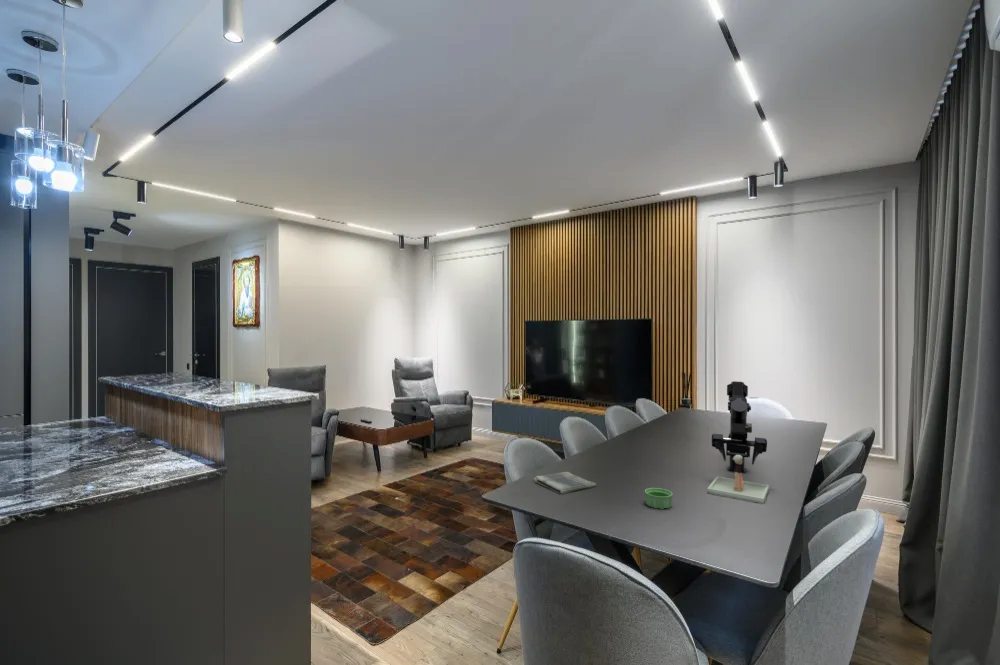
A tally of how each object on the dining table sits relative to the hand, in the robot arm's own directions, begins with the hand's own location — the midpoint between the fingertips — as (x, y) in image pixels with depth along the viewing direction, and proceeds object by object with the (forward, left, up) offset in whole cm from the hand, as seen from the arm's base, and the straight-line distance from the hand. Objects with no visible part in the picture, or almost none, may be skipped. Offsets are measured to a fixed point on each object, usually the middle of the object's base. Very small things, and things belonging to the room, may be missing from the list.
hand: (738, 462), depth 178 cm
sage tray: (+2, 0, -10) cm, 10 cm away
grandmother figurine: (+2, 0, -10) cm, 10 cm away
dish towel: (+32, -56, -11) cm, 65 cm away
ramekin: (+33, -20, -11) cm, 40 cm away
